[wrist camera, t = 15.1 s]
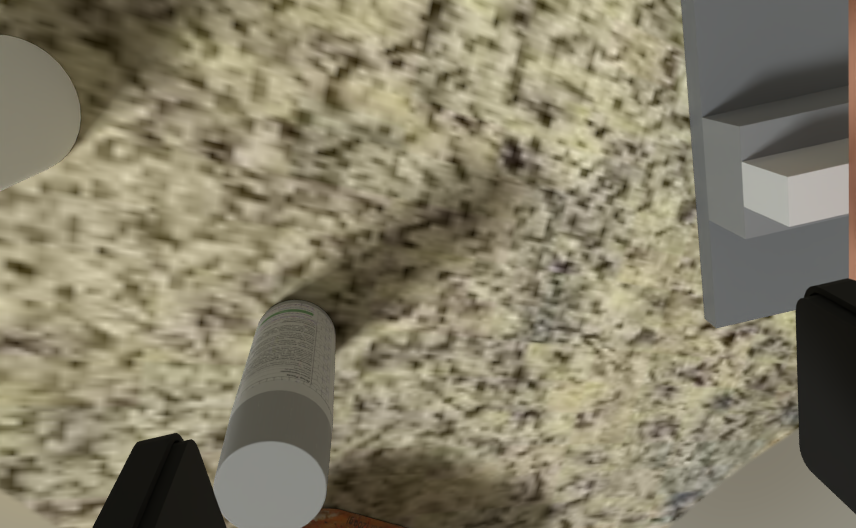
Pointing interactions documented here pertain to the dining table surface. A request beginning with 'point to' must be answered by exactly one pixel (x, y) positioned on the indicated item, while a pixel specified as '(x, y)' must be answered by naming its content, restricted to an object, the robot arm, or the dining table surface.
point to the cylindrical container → (33, 111)
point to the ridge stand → (768, 150)
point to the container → (281, 422)
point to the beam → (852, 139)
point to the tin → (345, 520)
